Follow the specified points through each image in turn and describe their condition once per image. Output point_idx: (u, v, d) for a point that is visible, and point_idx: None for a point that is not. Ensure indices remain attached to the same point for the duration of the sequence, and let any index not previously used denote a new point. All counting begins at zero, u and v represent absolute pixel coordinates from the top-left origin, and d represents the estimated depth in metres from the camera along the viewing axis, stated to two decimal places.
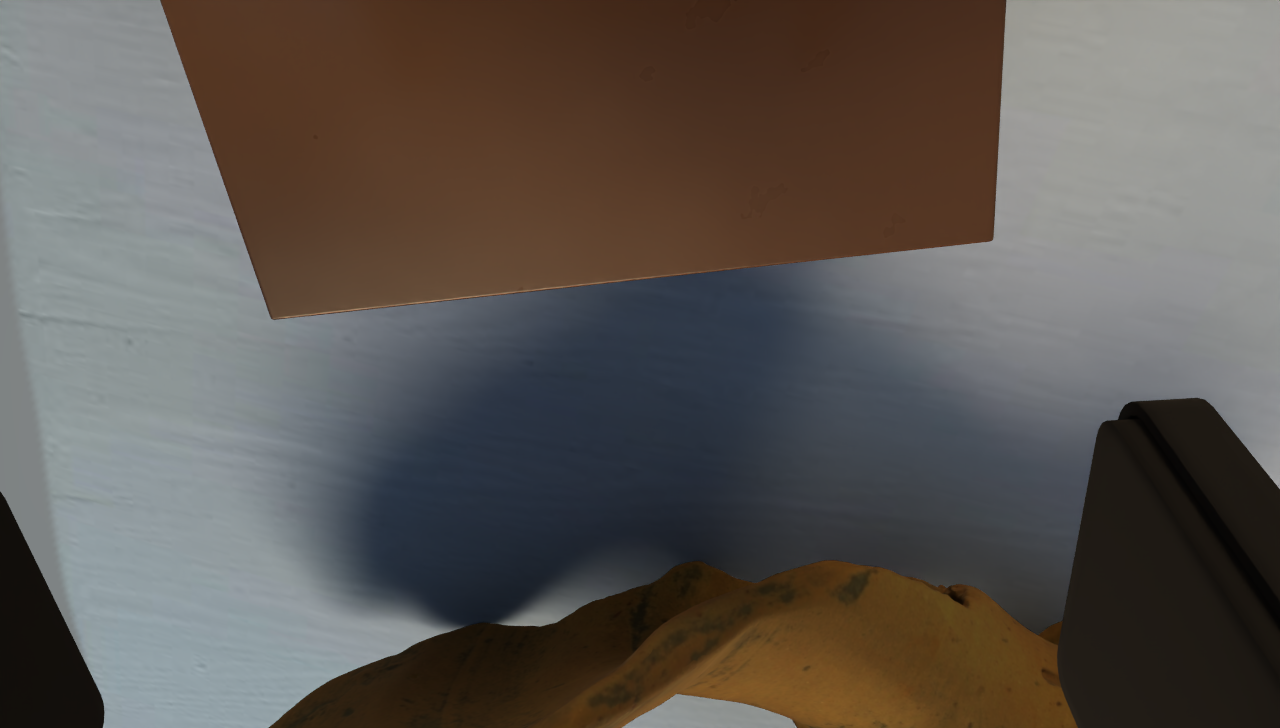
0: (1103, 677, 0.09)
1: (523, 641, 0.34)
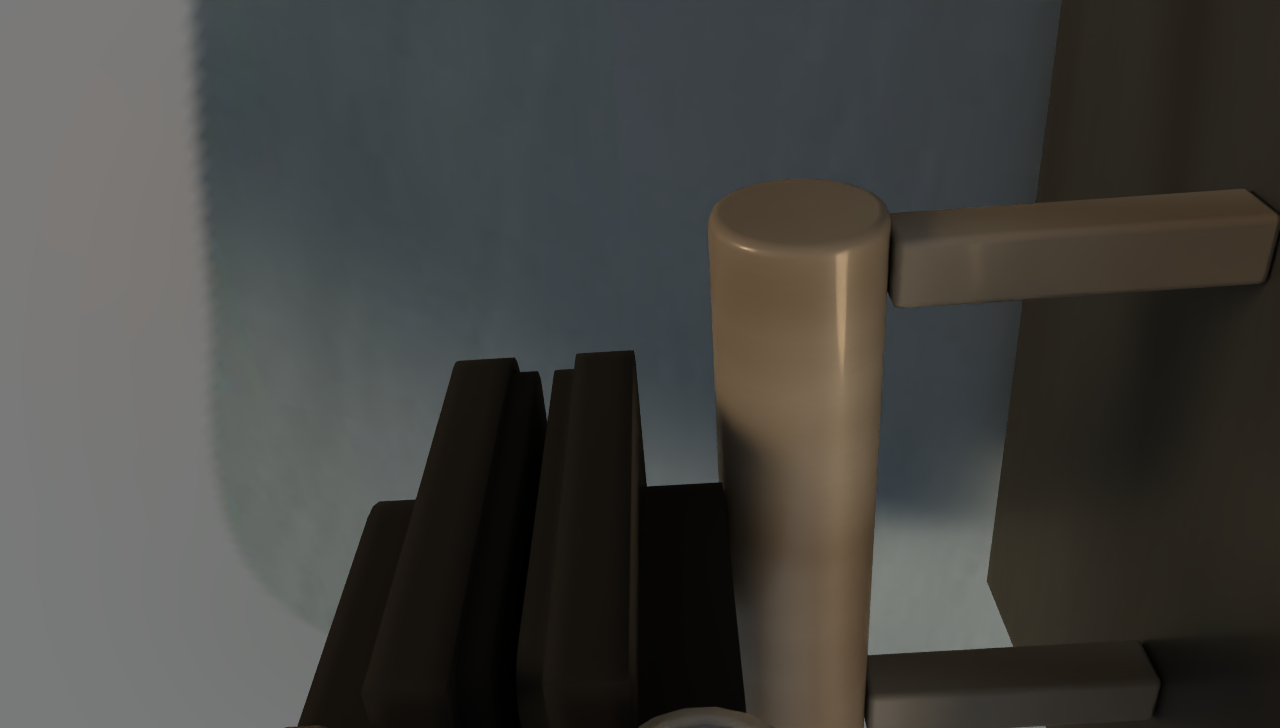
0: None
1: None
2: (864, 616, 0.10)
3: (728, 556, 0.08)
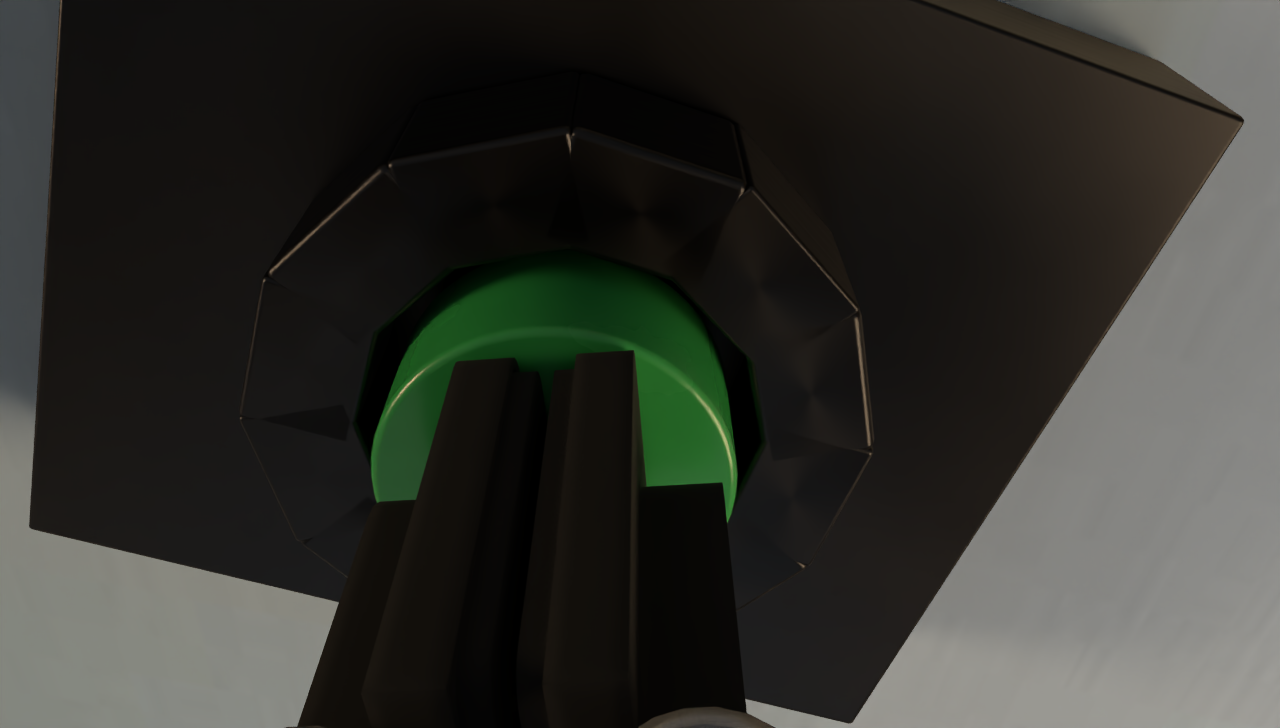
0: None
1: None
2: None
3: (728, 556, 0.08)
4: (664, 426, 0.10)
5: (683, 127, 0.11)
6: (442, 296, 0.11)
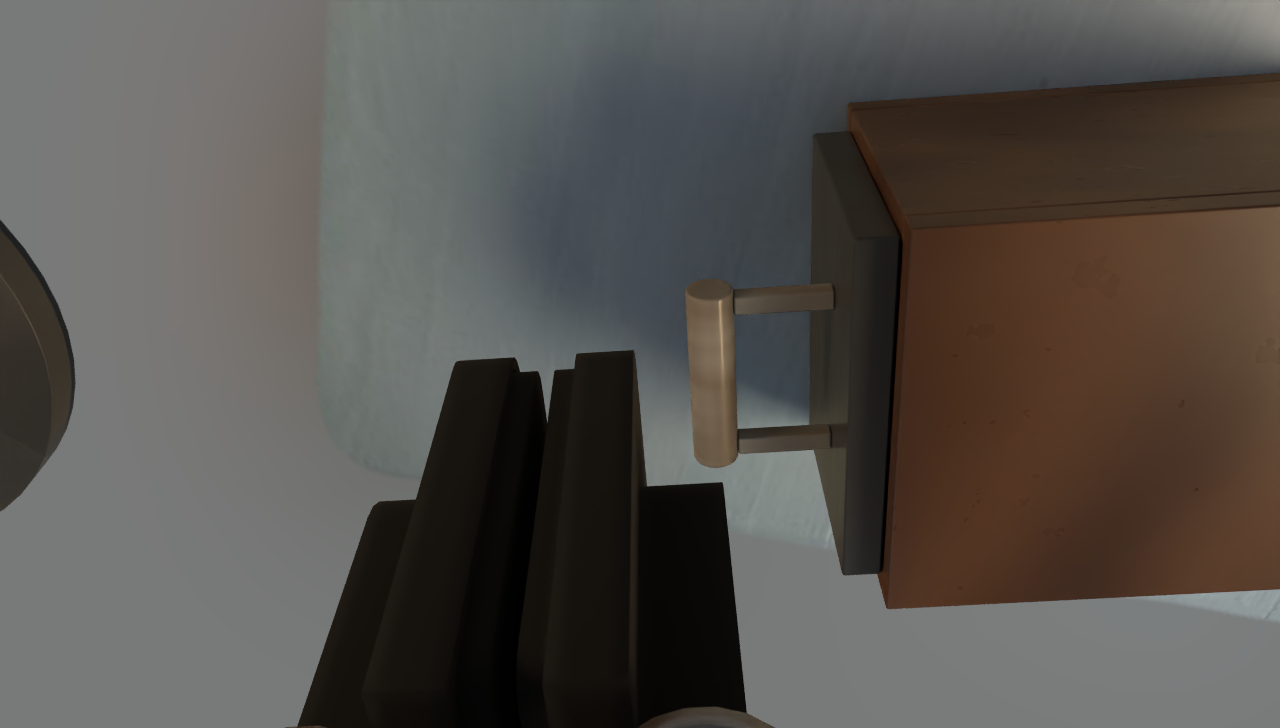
0: None
1: None
2: (733, 408, 0.33)
3: (728, 556, 0.08)
4: None
5: None
6: None
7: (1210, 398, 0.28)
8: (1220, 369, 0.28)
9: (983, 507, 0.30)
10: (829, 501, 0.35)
